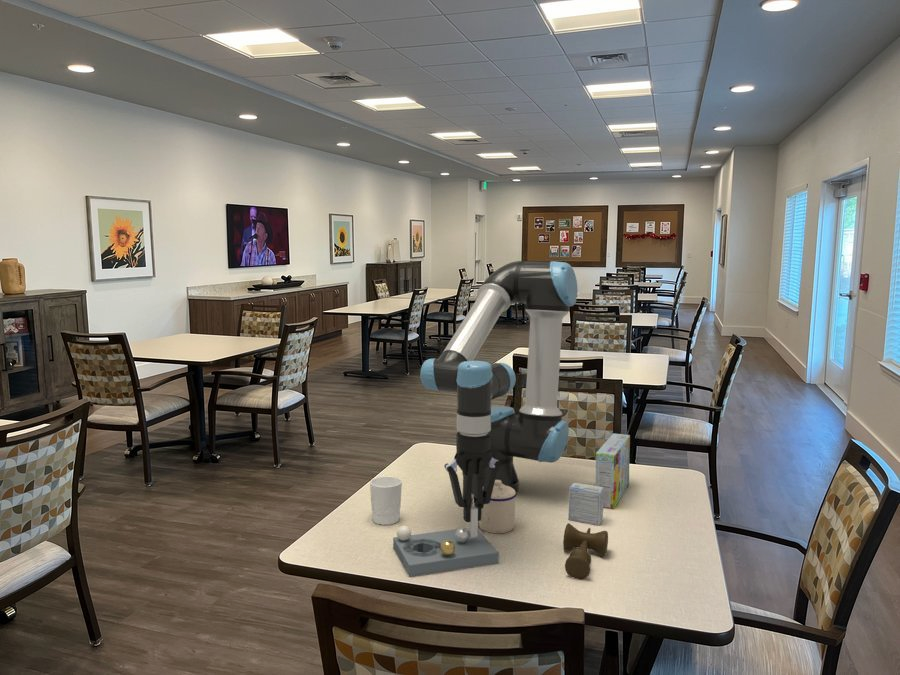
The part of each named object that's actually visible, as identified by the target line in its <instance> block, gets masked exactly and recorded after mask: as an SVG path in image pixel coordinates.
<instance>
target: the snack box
mask: <svg viewBox="0 0 900 675" xmlns="http://www.w3.org/2000/svg"><path fill="white" fill-rule="evenodd" d="M630 444H631V435H630V434H623V433H612V434H611V435H610V437H608V439H607V440H605V442H604V443H603V444H602V445H601V446H600V448H599V449H598V450H597V451H596V452H595V486H599V487H603V488H604V494H603V509H610V510H615V507H616V506H617V504H618V502H620V499H621V497H622V496H623V495H624V493H625V491H626V490H627V488H628V487H629V485H630V456H631V454H630V453H631V452H630V450H631V448H630V447H631V445H630Z"/></svg>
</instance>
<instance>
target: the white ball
mask: <svg viewBox="0 0 900 675" xmlns="http://www.w3.org/2000/svg"><path fill="white" fill-rule="evenodd" d="M396 535H397V536H396V537H398V538H399V539H400V540H402V541H405V540H408V539H409V538H410V536H411V535H412V530H411V528H410V527H409V526H406V525H401V526H400V527H399V528H398V529H397V530H396Z"/></svg>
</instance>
